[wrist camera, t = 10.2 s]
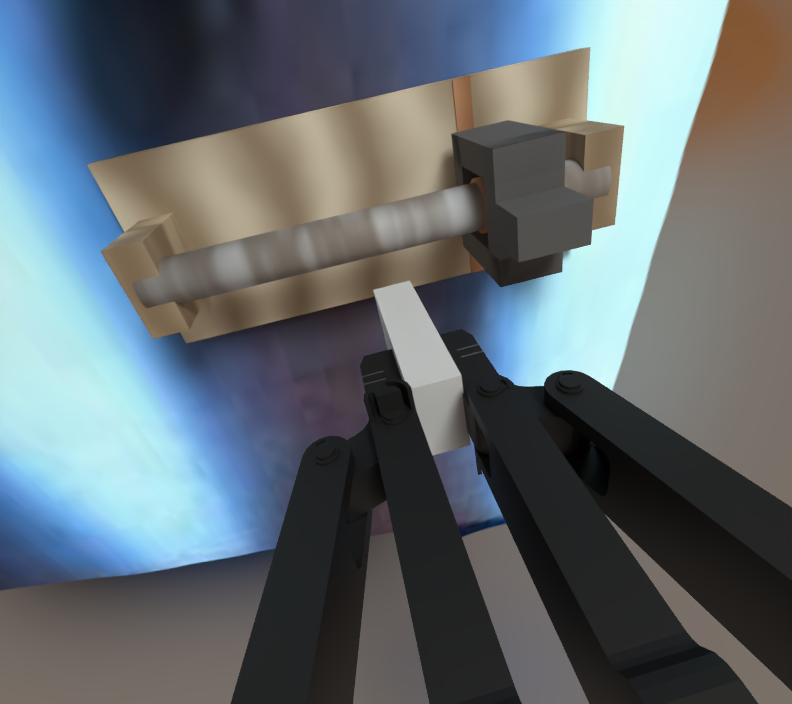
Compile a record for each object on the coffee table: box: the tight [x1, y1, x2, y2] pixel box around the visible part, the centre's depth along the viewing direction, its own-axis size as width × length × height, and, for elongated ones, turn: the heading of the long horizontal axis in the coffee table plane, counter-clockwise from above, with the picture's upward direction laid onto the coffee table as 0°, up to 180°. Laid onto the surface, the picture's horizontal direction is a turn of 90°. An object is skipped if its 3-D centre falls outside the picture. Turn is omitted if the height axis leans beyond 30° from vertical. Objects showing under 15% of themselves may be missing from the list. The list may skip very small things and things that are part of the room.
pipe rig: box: [87, 47, 624, 344], centre depth 30 cm, size 34×14×8 cm, turn 101°
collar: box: [451, 120, 594, 287], centre depth 27 cm, size 4×8×11 cm, turn 11°
